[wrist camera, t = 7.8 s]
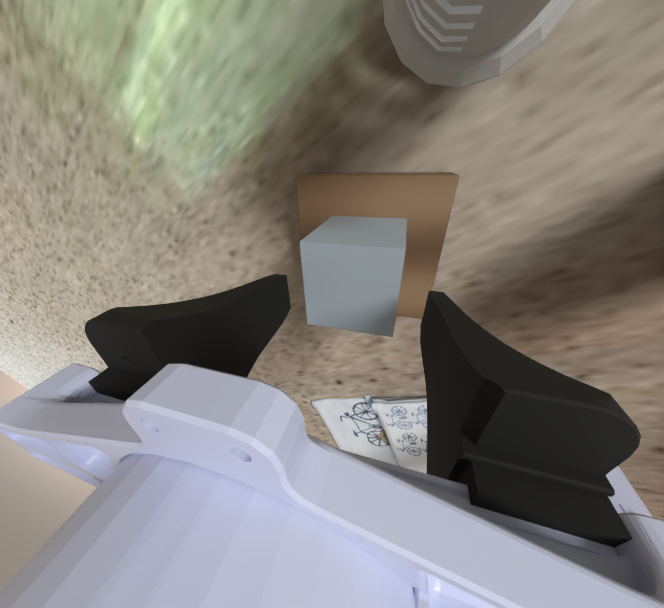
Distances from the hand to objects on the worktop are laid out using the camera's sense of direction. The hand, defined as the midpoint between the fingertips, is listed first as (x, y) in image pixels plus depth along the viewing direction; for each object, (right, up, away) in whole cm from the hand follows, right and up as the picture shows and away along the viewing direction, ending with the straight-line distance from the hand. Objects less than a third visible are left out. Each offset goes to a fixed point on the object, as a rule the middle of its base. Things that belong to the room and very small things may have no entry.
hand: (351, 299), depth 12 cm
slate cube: (+1, +3, +5) cm, 6 cm away
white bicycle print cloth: (+8, -19, +22) cm, 30 cm away
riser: (+2, +5, +8) cm, 9 cm away
